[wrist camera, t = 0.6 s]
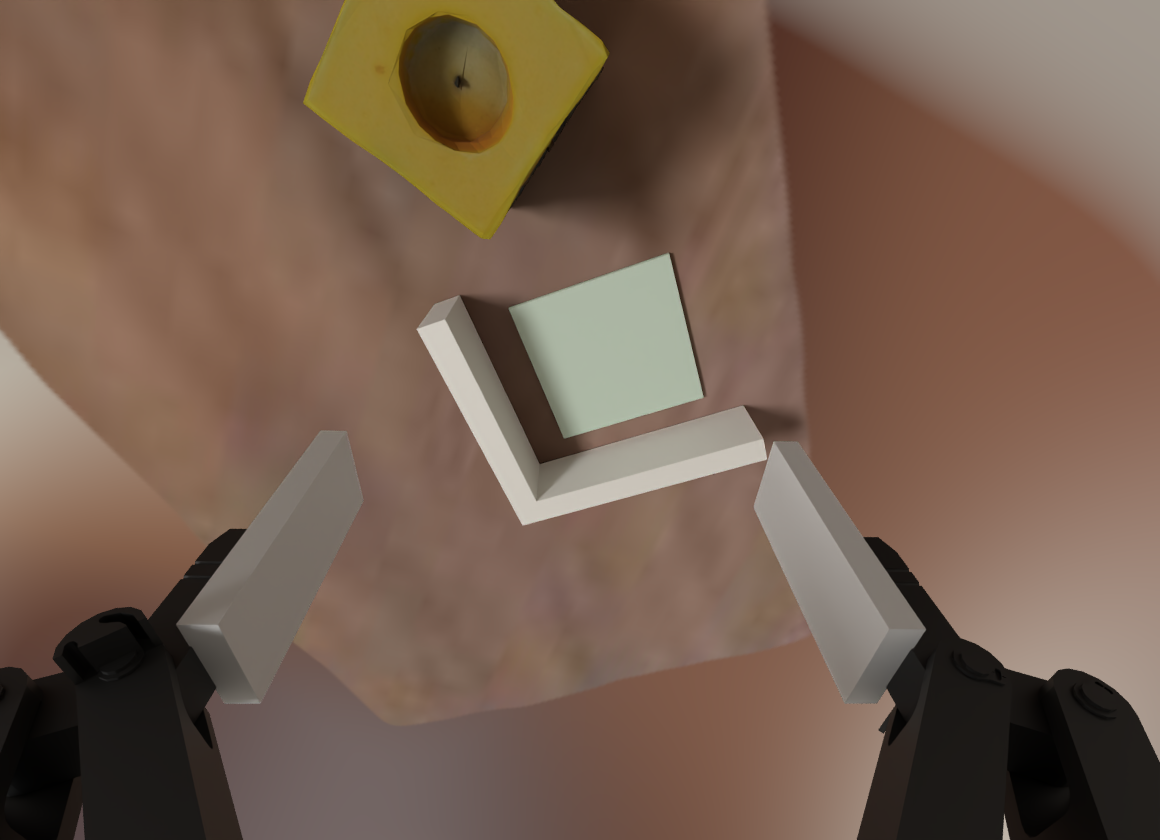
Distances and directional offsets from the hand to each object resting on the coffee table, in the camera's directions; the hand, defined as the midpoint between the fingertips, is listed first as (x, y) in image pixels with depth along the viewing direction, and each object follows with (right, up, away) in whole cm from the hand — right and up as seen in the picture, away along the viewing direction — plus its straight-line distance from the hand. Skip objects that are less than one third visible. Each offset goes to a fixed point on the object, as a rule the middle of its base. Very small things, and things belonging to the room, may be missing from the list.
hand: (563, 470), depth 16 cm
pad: (+3, +7, +23) cm, 24 cm away
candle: (-5, +22, +14) cm, 26 cm away
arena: (+2, +6, +23) cm, 24 cm away
